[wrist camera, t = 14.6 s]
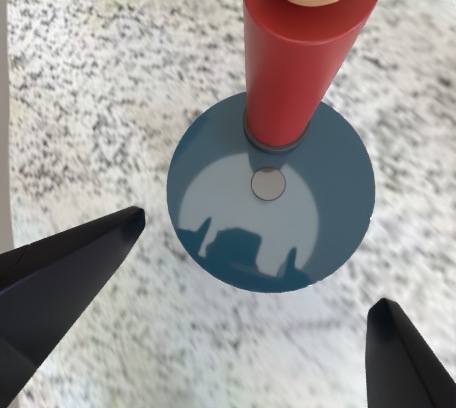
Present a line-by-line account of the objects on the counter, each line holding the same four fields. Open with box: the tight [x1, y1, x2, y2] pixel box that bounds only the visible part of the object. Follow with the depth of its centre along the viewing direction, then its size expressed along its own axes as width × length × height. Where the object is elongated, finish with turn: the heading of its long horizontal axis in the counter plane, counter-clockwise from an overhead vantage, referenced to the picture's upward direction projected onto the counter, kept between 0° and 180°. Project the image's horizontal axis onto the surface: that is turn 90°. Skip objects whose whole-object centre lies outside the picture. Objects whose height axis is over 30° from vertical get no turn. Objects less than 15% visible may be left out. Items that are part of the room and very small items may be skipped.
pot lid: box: [167, 92, 375, 293], centre depth 16 cm, size 14×14×3 cm
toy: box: [243, 0, 378, 154], centre depth 10 cm, size 5×5×14 cm
